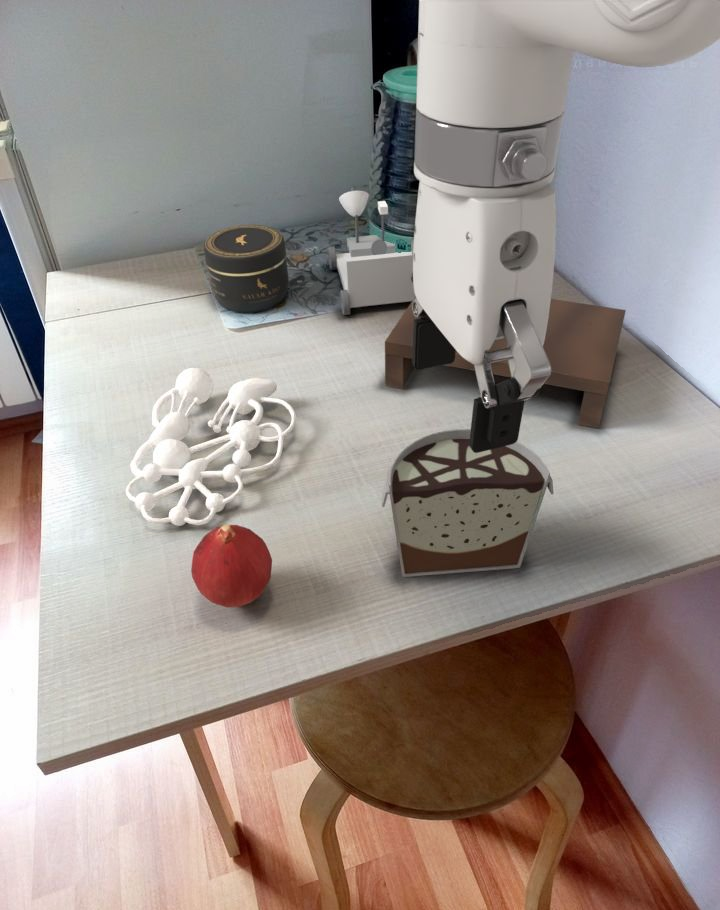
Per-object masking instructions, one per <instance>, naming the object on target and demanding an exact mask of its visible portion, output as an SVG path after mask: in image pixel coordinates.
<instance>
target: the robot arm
mask: <svg viewBox="0 0 720 910" xmlns="http://www.w3.org/2000/svg"><path fill="white" fill-rule="evenodd" d="M417 31H418V32H417V61H416V62H417V64H416V101H415V102H416V103H415V104H416V106H415V125H414V126H415V127H414V129H415V130H414V134H415V135H414V162H413V174H414V177H415V178H416V180H418V181H419V183H418V191H417V201H416V210H415V221H414V232H413V237H412V238H410V239H411V252H412V259H413V272H412V277H411V281H412V283H413V286H414V292H415V295H416V297H415V299H414V300H413V302H412V301H411V302H412V310H413V313H414V315H415V317H420V319H415V320H414V328H413V355H412V364H413V366H414V367H415V370H417V371H423V370H426V369H432V368H436V367H441V366H447V365H446V364H451V363H453V362H454V360H455V353H456V351H457V352H458V353H459V354H460V355H461V356H462V357H463V358H464V359H466V360H467V361H469V362H470V363H472V364H474V367H475V371H474V372H475V375H476V380H477V385H478V390H479V395H480V396H479V397H476V398H474V399H473V405H472V414H471V423H470V429H471V432H470V441H469V446H470V448H471V449H472V451H473V452H474V453H479V452H483V451H487V450H491V449H495V448H499V447H503V446H507V445H511V444H514V443H515V442H516V441H517V442H518V440H519V436H520V430H521V424H522V418H523V411H524V406H525V401H527V400H530V399H531V398H533V397H535V396H538V395H539V394H540V391H541V388H542V386H544V385H545V384H544V382H545V381H546V380H547V379H548V377H549V376H550V374H551V365H550V362H549V360H548V358H547V355H546V353H545V351H544V349H543V344H544V340H545V335H546V330H547V323H548V316H549V309H550V301H551V299H552V294H553V293H552V292H553V283H554V275H555V273H554V272H555V262H556V244H557V202H556V199H557V198H556V189H555V188H554V187H553V186H552V184H551V183H552V182H553V180H554V178H555V171H556V165H557V159H558V152H559V145H560V140H561V134H562V128H563V123H564V115H565V109H566V104H567V103H566V102H567V97H568V91H569V85H570V84H569V83H570V79H571V72H572V66H573V59H574V53H578V54H581V55H584V56H587V57H591V58H593V59H597V60H601V61H604V62H607V63H612V64H616V65H619V66H620V65H621V66H626V67H634V68H656V67H665V66H668V65H673V64H675V63H679V62H682V61H685V60H687V59H690V58H692V57H694V56H696V55H697V54H699V53H701V52H703V51H704V50H706V49H707V48H709V47H710V46H712V45H713V44H714V43H716V42H717V41H718V40H720V0H418V30H417ZM504 337H505V339H506V342H507V347H508V348H505V349H500V350H496V351H491V352H486V351H485V350H490V348H491V346H492V345H493V343H494V341H495V340H497V339H502V338H504ZM507 359H508V363H509V368H510V372H511V377H512V378H511V377H510V378H509V379H506V380H503V381H501V382H499V383H495V378H494V374H493V373H492V368H491V363H493V362H497V361H502V360H507Z"/></svg>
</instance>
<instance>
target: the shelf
mask: <svg viewBox="0 0 720 910" xmlns="http://www.w3.org/2000/svg"><path fill="white" fill-rule="evenodd" d="M415 297H416V296H415ZM414 299H415V298H414ZM414 299H413V300H414ZM412 302H413V301H410V304H409V305H408V307H407V308H406V309H405V311H404V313H403V314H402V315H401V317H400V318H399V320H398V322H397V323H396V324H395V326H394V328H392V329H391V332H390V333H389V335H387V337H386V339H385V341H384V385H385V387H389V388H393V389H398V390H399V389H400V390H404V388H405V386H407V383H408V381H409V380H410V378H411V376H412V375H413V373H414V371H415V370H416V369H415V367H414V366H413V364H412V355H413V328H414V320H415V319H420V317H415V315H414V313H413V310H412ZM625 315H626V309H621V308H615V307H608V306H603V305H601V306H600V305H595V304H588V303H583V302H582V303H581V302H575V301H568V300H562V299H555V298H551V301H550V309H549V316H548V323H547V330H546V335H545V340H544V344H543V349H544V351H545V353H546V355H547V358H548V360H549V362H550V365H551V374H550V376H549V377H548V379H547V380H546V381H545V382H544V384H543V385H550V386H554V387H560V388H565V389H570V390H576V391H580V392H581V391H582V392H583V396H582V402H581V406H580V410H579V415H578V420H577V425H578V426H582V427H583V426H584V427H589V428H593V429H599V428H600V425H601V420H602V415H603V411H604V407H605V403H606V400H607V395H608V392H609V387H610V384H611V379H612V374H613V369H614V364H615V361H616V356H617V351H618V347H619V343H620V338H621V334H622V329H623V324H624V320H625ZM505 348H508V347H507V342H506V339H505V337H504V338H502V339H497V340H495V341H494V343H493V345H492V346H491V348H490V350H485V351H486V352H491V351H496V350H500V349H505ZM445 366H447V367H454V368H457V369H463V370H470V371H474V372H475V367H474V364H472V363H470V362H469V361H467V360H466V359H464V358H463V357H462V356H461V355H460V354H459V353H458V352H457V351H456V353H455V360H454V362H453V363H451V364H446V365H445ZM491 368H492V373H493V375H495V376H502V377H506V378H510V379H512V377H511V372H510V368H509V363H508V359H507V360H502V361H497V362H493V363H491Z"/></svg>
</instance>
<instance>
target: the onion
mask: <svg viewBox="0 0 720 910" xmlns="http://www.w3.org/2000/svg"><path fill="white" fill-rule="evenodd" d="M272 567H273V558H272V555H271V552H270V550H269V547H268V546H267V543H266V542H265V541H264V539H263V538H262V537H261V536H260V535H258V534H257V533H256V532H254V531H253V530H252V529H250V528H248V527H245V526H241V525H238V524H224V525H220V526H216V527H215V528H213V529H212V530H211V531H209V532H207V533H206V534H205V535H204V536H202V538H201V540H200V541H199V542H198V544H197V546H196V547H195V549H194V551H193V553H192V560H191V570H190V572H191V577H192V580H193V582H194V584H195V586H196V588H197V590H198V591H199V593H200V595H202V597H204V598H205V599H207V600H208V601H209V602H211V603H212V604H215V605H218V606H221V607H225V608H239V607H243V606H245V605H248V604H250V603H251V604H252V602H254V601H255V600H256V599H258V598H259V597H260V596H261V595H262V594H263V593H264V590H265V589H266V588H267V585H268V583H269V582H270V581H271V577H272Z"/></svg>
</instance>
